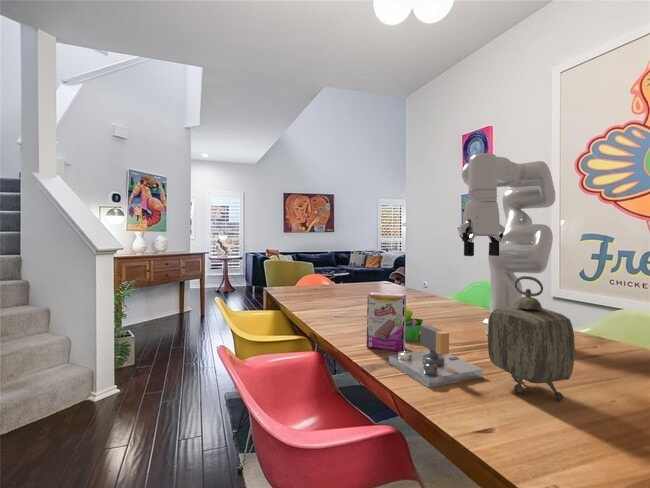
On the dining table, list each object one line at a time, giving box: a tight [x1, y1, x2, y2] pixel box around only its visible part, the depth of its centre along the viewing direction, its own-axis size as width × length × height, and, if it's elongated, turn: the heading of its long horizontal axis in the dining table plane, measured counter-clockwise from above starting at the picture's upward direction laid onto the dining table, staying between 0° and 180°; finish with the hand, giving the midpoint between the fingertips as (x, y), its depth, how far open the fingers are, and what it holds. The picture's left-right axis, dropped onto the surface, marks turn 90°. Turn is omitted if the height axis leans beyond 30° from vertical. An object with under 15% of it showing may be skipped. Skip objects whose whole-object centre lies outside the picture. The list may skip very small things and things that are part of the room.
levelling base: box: [388, 349, 484, 389], centre depth 84 cm, size 16×16×4 cm
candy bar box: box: [366, 291, 407, 352], centre depth 101 cm, size 11×5×16 cm, turn 71°
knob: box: [419, 324, 450, 365], centre depth 84 cm, size 5×8×8 cm, turn 19°
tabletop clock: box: [487, 275, 576, 401], centre depth 73 cm, size 14×9×25 cm, turn 17°
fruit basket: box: [405, 306, 424, 342], centre depth 114 cm, size 11×9×11 cm
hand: (481, 255), depth 98 cm, fingers open, 9 cm apart
